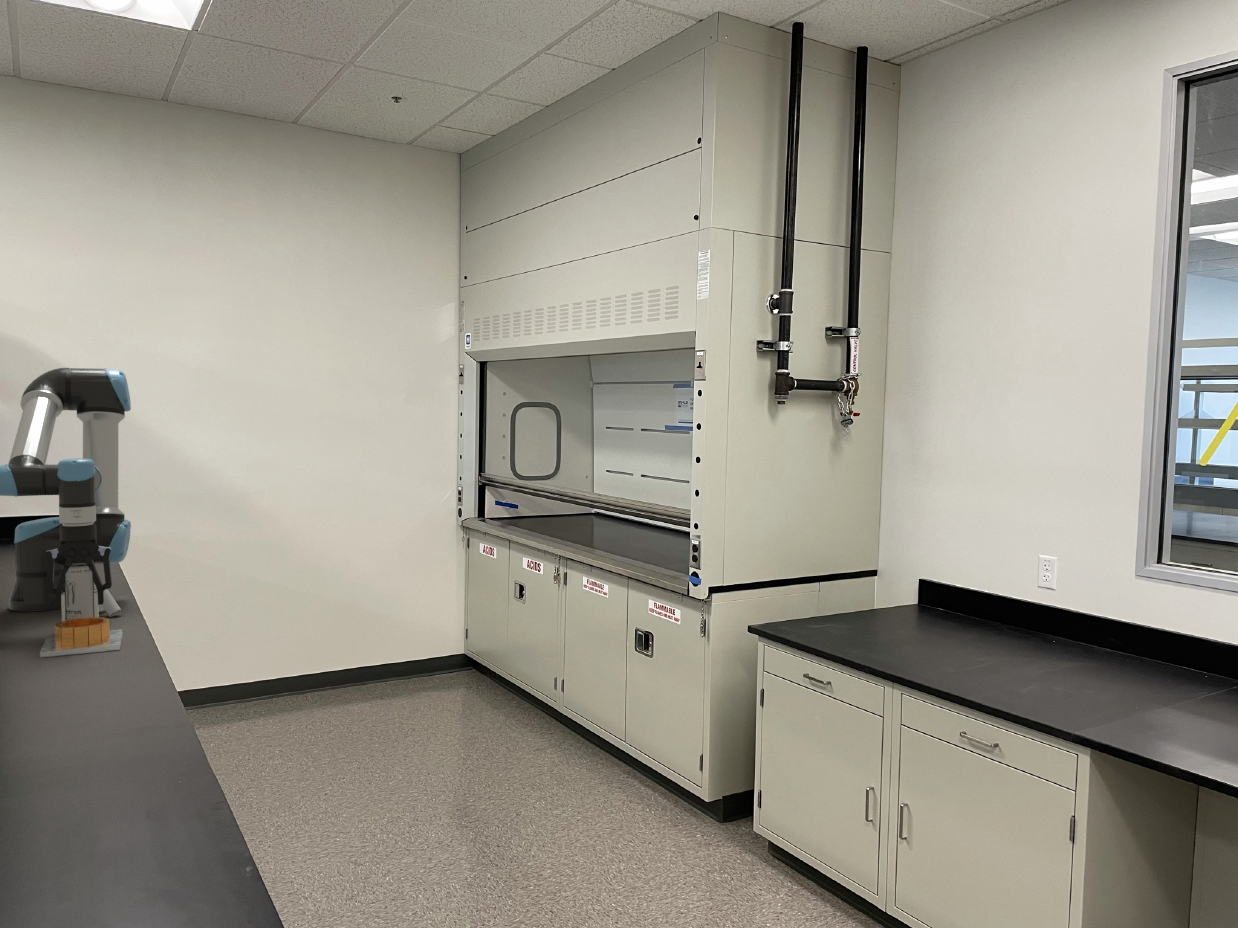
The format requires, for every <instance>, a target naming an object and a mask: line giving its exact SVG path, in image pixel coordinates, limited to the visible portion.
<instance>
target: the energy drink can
mask: <svg viewBox="0 0 1238 928" xmlns="http://www.w3.org/2000/svg"><path fill="white" fill-rule="evenodd" d="M65 576H66V580H65V604H66V620H70V619H75V618H85V617H95V614H94V581H93V578H92V571H91V570H90V569H89V566H87V564H72V565H71V566H70V567H69V569H68V571H67V573H66V574H65Z"/></svg>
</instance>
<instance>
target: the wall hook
mask: <svg viewBox="0 0 1238 928" xmlns="http://www.w3.org/2000/svg"><path fill="white" fill-rule="evenodd" d="M95 590H97V588H96V586H95V583H94V591H95ZM103 611H105V612H106V614H107V615H108V617H110V618H111V617H114V616H116V615H118V614H119V613H121V611H122V609H121V607H120V606H119V605H118V603H117V602H116V600H115V598H114V597H113V596H112V594H111V593H110V591H109V589H106V590H104V602H103V604H102V605H99V613H100V612H103Z"/></svg>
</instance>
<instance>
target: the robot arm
mask: <svg viewBox="0 0 1238 928" xmlns="http://www.w3.org/2000/svg"><path fill="white" fill-rule="evenodd" d="M20 408H21V410H22V413H21V418H20V421H19V424H18V428H17V431H16V434H15V435H16V436H15V438H14V442H13V446H12V449H11V453H10V455H9V460H8V464H7V463H6V464H5V463H4V464H2V465H1V464H0V497H1V496H2V497H16V498H17V497H33V496H35V497H36V496H37V497H38V496H58V515H59V516H55V517H46V518H40V519H39V518H38V519H35V520H29V521H25V522H22V523H20V524H18V525H17V526H16V527H15V530H14V541H13V543H14V557H15V559H14V561H15V562H14V563H15V580H14V584H13V586H12V587H13V588H12V590H11V593H10V596H9V598H8V609H9V610H10V611H15V612H41V611H42V612H43V611H52V610H59V609H61V622H62V621H65V620H66V604H65V580H66V576H65V574H66V573H67V571H68V569H69V567H70V566H71V565H72V564H87V566H89V569H90V570H91V571H92V578H93V581H94V583H95V586H96V588H97V590H95V591H94V614H95V617H100V616H99V615H100V612H99V605H102V604H103V602H104V590H106V589H108V590H109V589H111V588H112V586H113V582H112V581H113V580H112V572H111V564H118V563H121V562H123V561H124V560H125V558H126V557H127V554H128V550H129V547H130V546H129V545H130V539H131V528H132V527H131V526H132V523H131V521H130V520H128V519H125V513H124V512H123V511H122V510H121V509H120V508H119V424H120V423H121V422H122V421H123V420H124V419H125V418H126V417H125V416H126V415H125V412H130V411H131V409H132V406H131V397H130V390H129V385H128V380H127V377H126V374H125V373H124V371H122V370H120V369H114V368H113V369H111V368H83V367H82V368H77V367H76V368H75V367H73V368H70V367H59V368H54V369H52V370H48V371H46V372H44V373H42V374H40V375H39V376H38V377H36V378H35V379H34V380H32V382H31V383H29V384H28V385H27V387H26V388H25V390H24V391H23V393H22V396H21V398H20ZM63 411H76V418H77V419H79V420H80V421H81V422H82V458H64V459H60V460H59V461H58V464H47V460H48V459H47V458H48V453H49V449H50V446H51V442H52V441H51V440H52V436H53V432H54V429H55V424H56V419H57V418H58V417H59V416H60V415H61V414H62V412H63ZM96 565H103V572H104V582H105V583H102V580H101V576H100V574H99V573H98V570H97V567H96Z"/></svg>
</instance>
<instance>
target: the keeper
mask: <svg viewBox="0 0 1238 928" xmlns="http://www.w3.org/2000/svg"><path fill="white" fill-rule="evenodd" d="M54 633H55V634H52V635H47V636H46V638H45V640H44V642H43V645H42V646H41V649H40V652H39V658H49V657H59V656H69V655H70V656H71V655H79V654H80V655H81V654H82V655H83V654H91V653H101V652H102V653H103V652H110V651H120V650H121V646H122V645H121V644H122V639H123V629H122V628H120V629H110V618H107V617H102V616H99V617H85V618H75V619H70V620H65V621H62V620H61V621H60V622H57V623H55V625H54Z"/></svg>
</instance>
